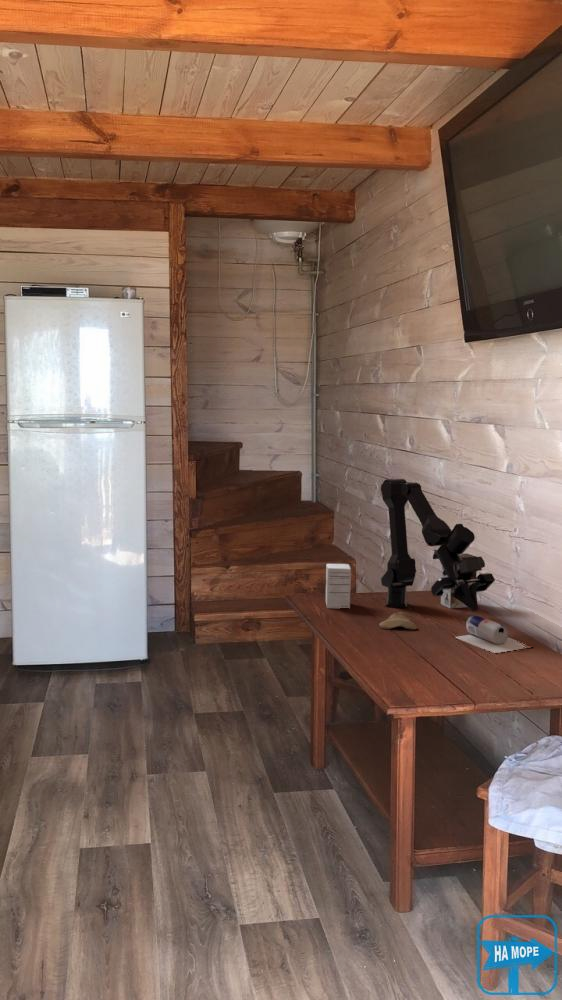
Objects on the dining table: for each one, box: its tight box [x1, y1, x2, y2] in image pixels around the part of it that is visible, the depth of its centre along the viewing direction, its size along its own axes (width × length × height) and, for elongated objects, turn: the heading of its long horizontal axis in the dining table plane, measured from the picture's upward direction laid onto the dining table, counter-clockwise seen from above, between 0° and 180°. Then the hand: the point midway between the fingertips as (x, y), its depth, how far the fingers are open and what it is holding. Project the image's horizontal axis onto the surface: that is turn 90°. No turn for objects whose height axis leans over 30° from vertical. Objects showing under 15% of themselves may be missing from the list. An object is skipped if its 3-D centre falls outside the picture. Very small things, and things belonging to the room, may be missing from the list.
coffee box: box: [440, 552, 478, 609], centre depth 272 cm, size 9×6×16 cm
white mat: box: [455, 634, 526, 654], centre depth 232 cm, size 16×13×1 cm
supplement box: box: [325, 563, 352, 609], centre depth 269 cm, size 7×7×13 cm
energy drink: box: [465, 614, 509, 644], centre depth 234 cm, size 5×5×12 cm
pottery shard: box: [379, 611, 419, 631], centre depth 248 cm, size 11×4×10 cm
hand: (476, 610), depth 238 cm, fingers closed
